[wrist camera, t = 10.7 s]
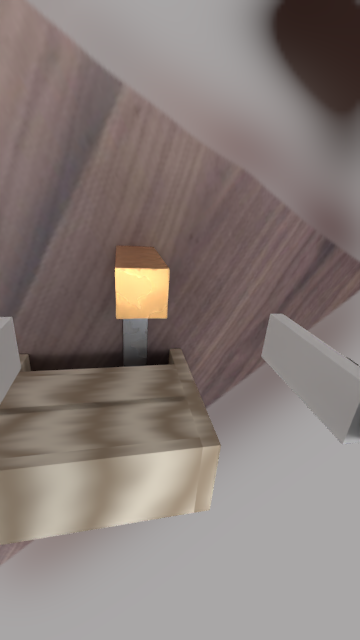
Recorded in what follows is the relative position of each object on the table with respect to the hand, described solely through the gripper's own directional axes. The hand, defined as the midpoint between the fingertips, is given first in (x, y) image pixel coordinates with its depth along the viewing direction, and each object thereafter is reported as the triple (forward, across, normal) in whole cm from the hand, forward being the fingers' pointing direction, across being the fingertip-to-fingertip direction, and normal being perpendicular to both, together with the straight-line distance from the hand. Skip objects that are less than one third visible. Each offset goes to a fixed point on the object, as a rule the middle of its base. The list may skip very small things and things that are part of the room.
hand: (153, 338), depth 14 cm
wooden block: (+19, 0, -7) cm, 20 cm away
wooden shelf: (+18, -4, -15) cm, 24 cm away
